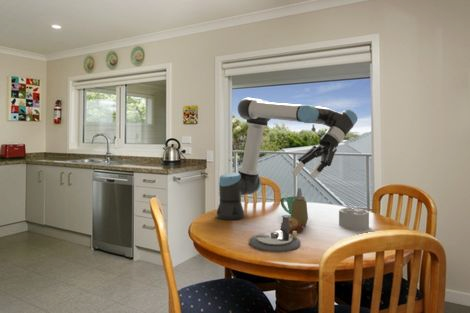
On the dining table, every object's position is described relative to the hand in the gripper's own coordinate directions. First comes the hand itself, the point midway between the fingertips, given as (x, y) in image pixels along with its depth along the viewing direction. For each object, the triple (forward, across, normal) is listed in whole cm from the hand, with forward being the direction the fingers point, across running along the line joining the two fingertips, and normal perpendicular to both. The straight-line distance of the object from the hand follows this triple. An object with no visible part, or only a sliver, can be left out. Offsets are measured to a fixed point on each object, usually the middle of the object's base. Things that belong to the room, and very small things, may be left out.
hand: (302, 175), depth 128 cm
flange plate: (+27, -2, -7) cm, 28 cm away
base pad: (+29, -2, -8) cm, 30 cm away
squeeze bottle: (+12, +17, -25) cm, 32 cm away
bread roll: (+18, +10, -19) cm, 28 cm away
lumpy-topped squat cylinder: (-3, +5, -40) cm, 41 cm away
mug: (+7, +35, -30) cm, 46 cm away
